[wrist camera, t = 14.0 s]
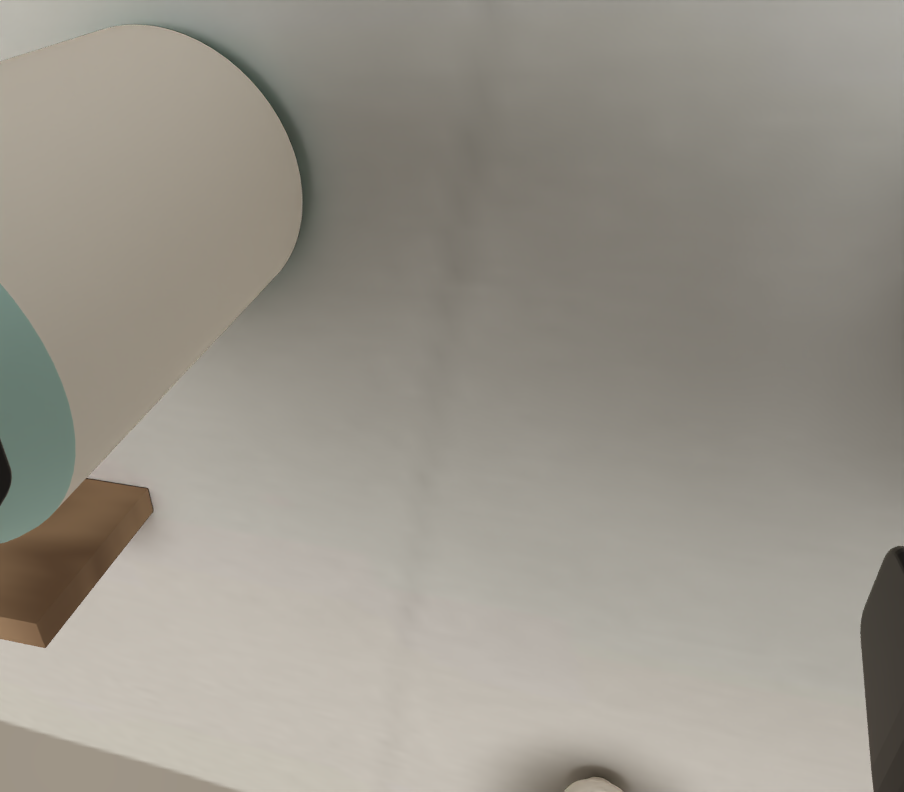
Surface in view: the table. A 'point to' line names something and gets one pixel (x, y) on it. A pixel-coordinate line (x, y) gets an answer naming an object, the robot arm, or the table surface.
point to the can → (123, 239)
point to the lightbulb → (592, 786)
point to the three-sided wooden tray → (65, 558)
